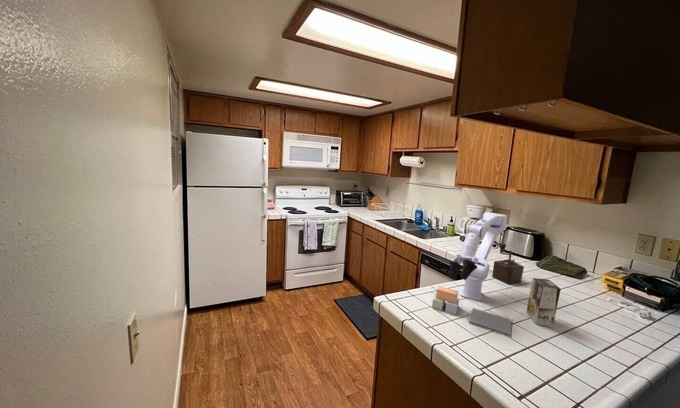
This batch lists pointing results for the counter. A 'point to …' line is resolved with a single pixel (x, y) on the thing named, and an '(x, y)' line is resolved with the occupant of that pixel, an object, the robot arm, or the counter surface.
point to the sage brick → (438, 303)
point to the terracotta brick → (447, 294)
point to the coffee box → (543, 301)
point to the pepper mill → (507, 269)
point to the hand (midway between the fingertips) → (457, 278)
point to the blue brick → (452, 307)
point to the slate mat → (491, 321)
